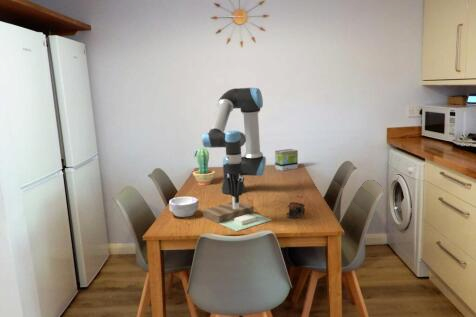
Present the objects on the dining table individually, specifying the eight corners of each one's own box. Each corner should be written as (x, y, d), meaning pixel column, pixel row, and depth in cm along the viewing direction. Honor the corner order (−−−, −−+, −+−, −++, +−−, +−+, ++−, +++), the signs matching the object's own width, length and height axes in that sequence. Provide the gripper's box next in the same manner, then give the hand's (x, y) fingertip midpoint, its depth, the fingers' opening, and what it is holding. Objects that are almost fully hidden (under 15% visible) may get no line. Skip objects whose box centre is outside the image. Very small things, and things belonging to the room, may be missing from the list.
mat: (253, 213, 207) (253, 213, 207) (271, 220, 196) (271, 219, 196) (219, 223, 194) (219, 223, 194) (236, 231, 183) (236, 230, 183)
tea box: (282, 171, 303) (282, 152, 300) (274, 169, 312) (274, 150, 309) (298, 168, 310) (297, 149, 307) (290, 166, 319) (290, 148, 316)
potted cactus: (209, 179, 285) (207, 145, 281) (219, 183, 272) (217, 147, 268) (189, 183, 277) (187, 147, 273) (199, 187, 264) (197, 150, 260)
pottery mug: (281, 217, 202) (284, 201, 204) (295, 221, 206) (298, 206, 208) (296, 217, 192) (299, 200, 194) (311, 222, 196) (314, 206, 198)
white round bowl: (204, 213, 210) (203, 199, 208) (181, 221, 200) (180, 206, 198) (187, 208, 221) (186, 194, 219) (164, 215, 211) (163, 200, 209)
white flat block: (256, 216, 195) (256, 220, 195) (248, 214, 199) (248, 217, 200) (241, 221, 189) (241, 225, 190) (234, 218, 194) (234, 222, 194)
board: (237, 207, 218) (237, 200, 217) (253, 213, 207) (253, 206, 206) (203, 217, 205) (203, 209, 204) (219, 223, 194) (218, 216, 193)
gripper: (220, 161, 198) (222, 207, 202) (235, 165, 188) (237, 213, 192) (232, 159, 203) (234, 204, 207) (248, 163, 192) (249, 209, 197)
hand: (235, 208), depth 199 cm, fingers closed
